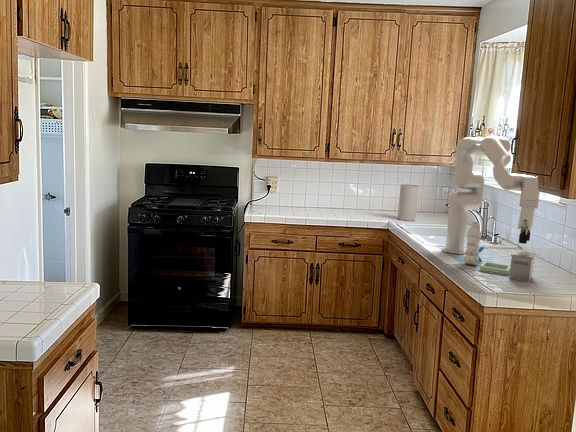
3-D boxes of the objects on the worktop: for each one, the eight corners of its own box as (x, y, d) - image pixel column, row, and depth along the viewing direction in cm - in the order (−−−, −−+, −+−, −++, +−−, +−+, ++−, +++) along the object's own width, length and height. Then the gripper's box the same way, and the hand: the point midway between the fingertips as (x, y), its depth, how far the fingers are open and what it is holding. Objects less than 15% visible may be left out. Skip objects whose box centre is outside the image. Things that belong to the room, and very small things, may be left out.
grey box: (511, 273, 249) (514, 250, 248) (532, 277, 245) (536, 253, 243) (507, 278, 240) (510, 254, 238) (529, 282, 236) (532, 257, 234)
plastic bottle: (470, 266, 259) (475, 224, 256) (460, 263, 265) (465, 221, 262) (481, 266, 262) (486, 224, 259) (471, 262, 268) (475, 221, 265)
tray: (484, 266, 261) (485, 261, 261) (510, 270, 255) (511, 265, 255) (479, 270, 251) (480, 265, 251) (506, 275, 245) (507, 270, 245)
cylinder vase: (417, 221, 394) (420, 186, 391) (399, 220, 394) (402, 185, 391) (412, 219, 407) (416, 185, 403) (395, 218, 406) (399, 183, 403)
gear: (473, 254, 280) (486, 243, 273) (480, 264, 278) (493, 253, 271) (460, 259, 273) (473, 248, 266) (467, 269, 271) (481, 258, 264)
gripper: (522, 201, 256) (518, 238, 259) (516, 204, 242) (512, 243, 244) (540, 203, 253) (535, 240, 255) (535, 206, 238) (530, 245, 240)
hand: (524, 241), depth 250 cm, fingers open, 9 cm apart
